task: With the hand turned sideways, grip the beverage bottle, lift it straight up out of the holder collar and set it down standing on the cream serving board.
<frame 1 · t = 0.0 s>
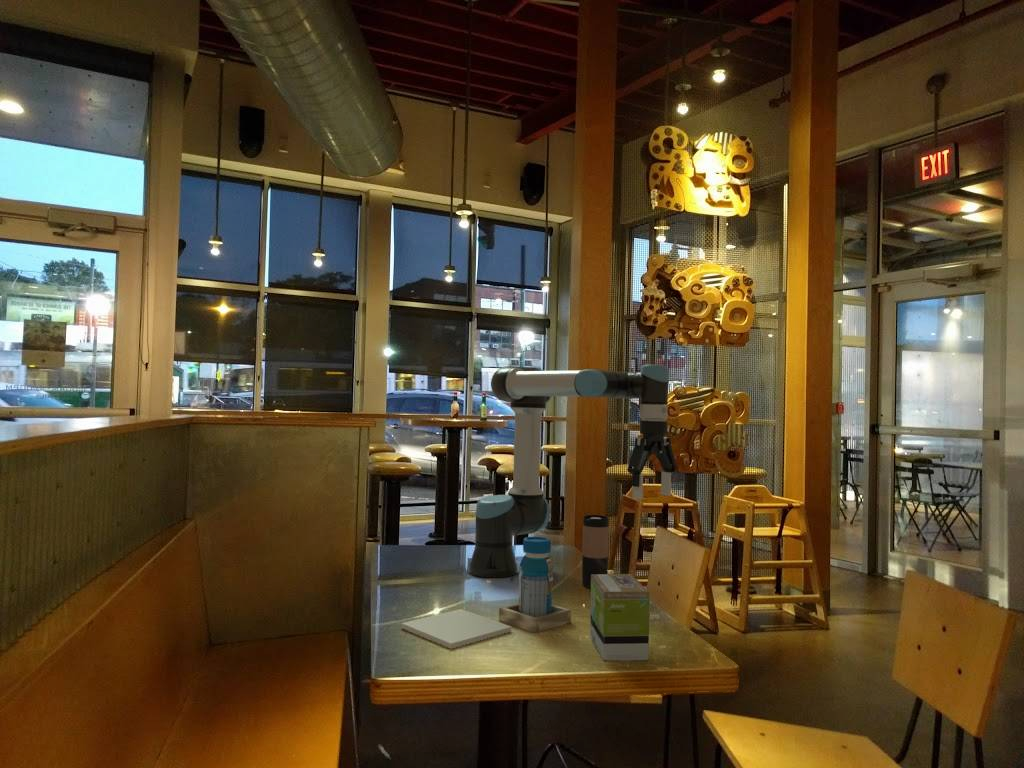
hand: (651, 497, 197), 28 cm above the table, tool pointing down, fingers open, 13 cm apart
tea box: (617, 650, 155), on the table
holder collar: (534, 621, 173), on the table
serving board: (456, 630, 164), on the table
travel mug: (594, 585, 209), on the table
beverage bottle: (534, 622, 173), resting in holder collar
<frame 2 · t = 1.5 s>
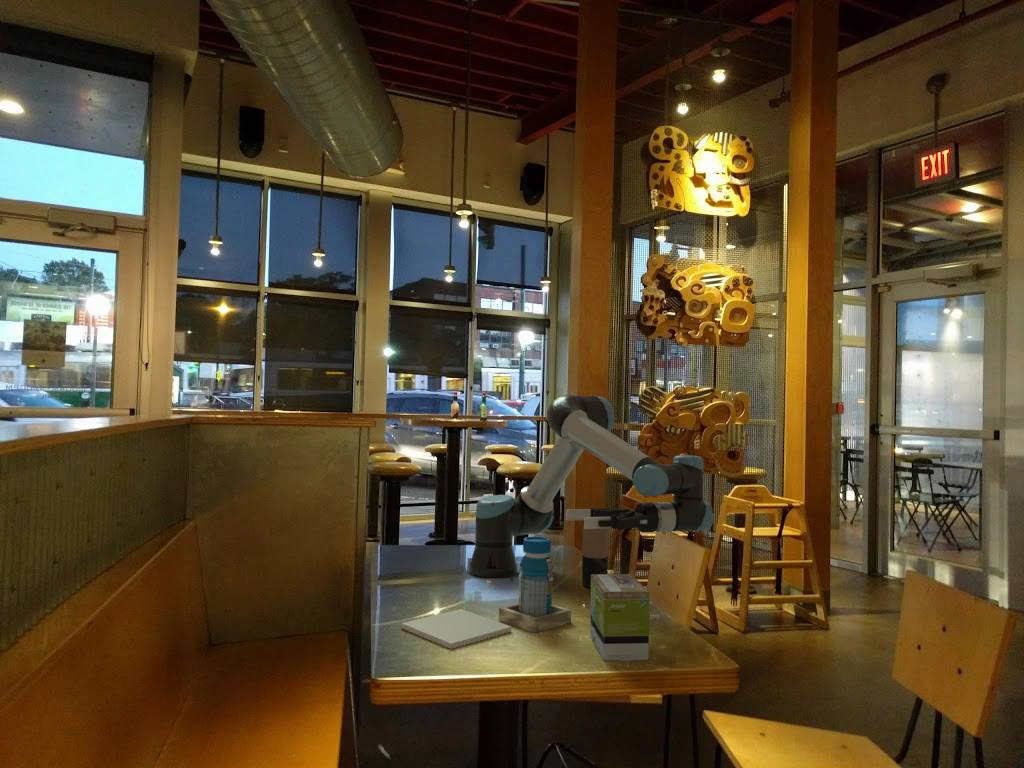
hand: (574, 518, 176), 25 cm above the table, tool horizontal, fingers open, 13 cm apart
nothing on the table moved.
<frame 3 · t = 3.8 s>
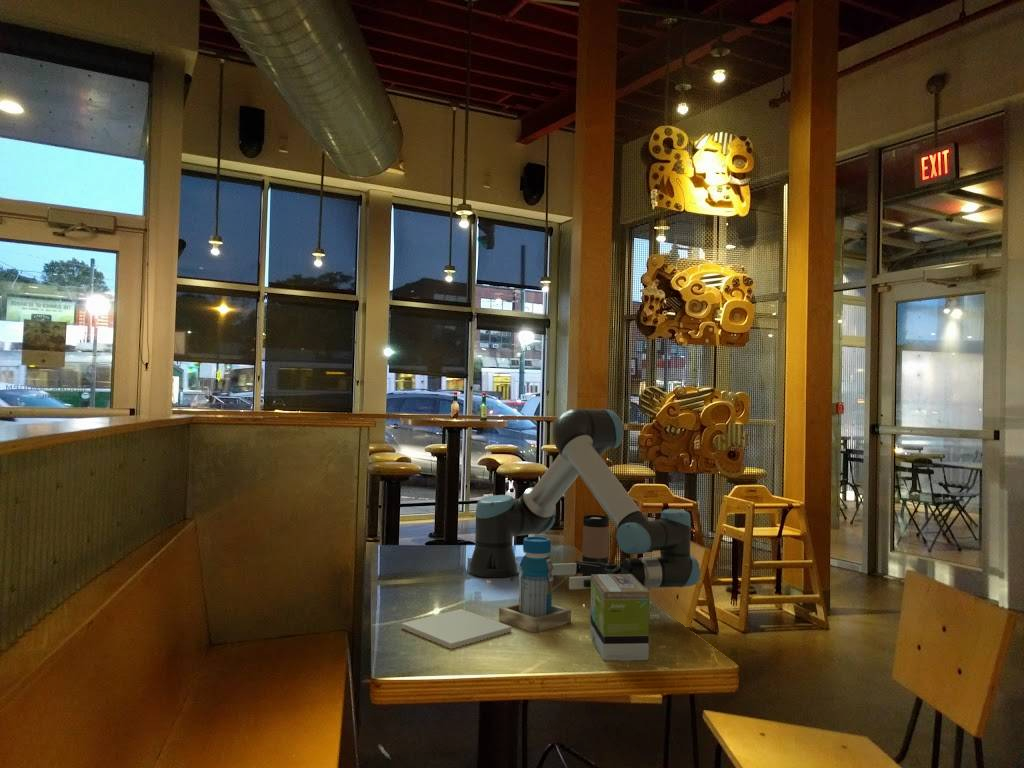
hand: (560, 576, 174), 11 cm above the table, tool horizontal, fingers open, 13 cm apart
nothing on the table moved.
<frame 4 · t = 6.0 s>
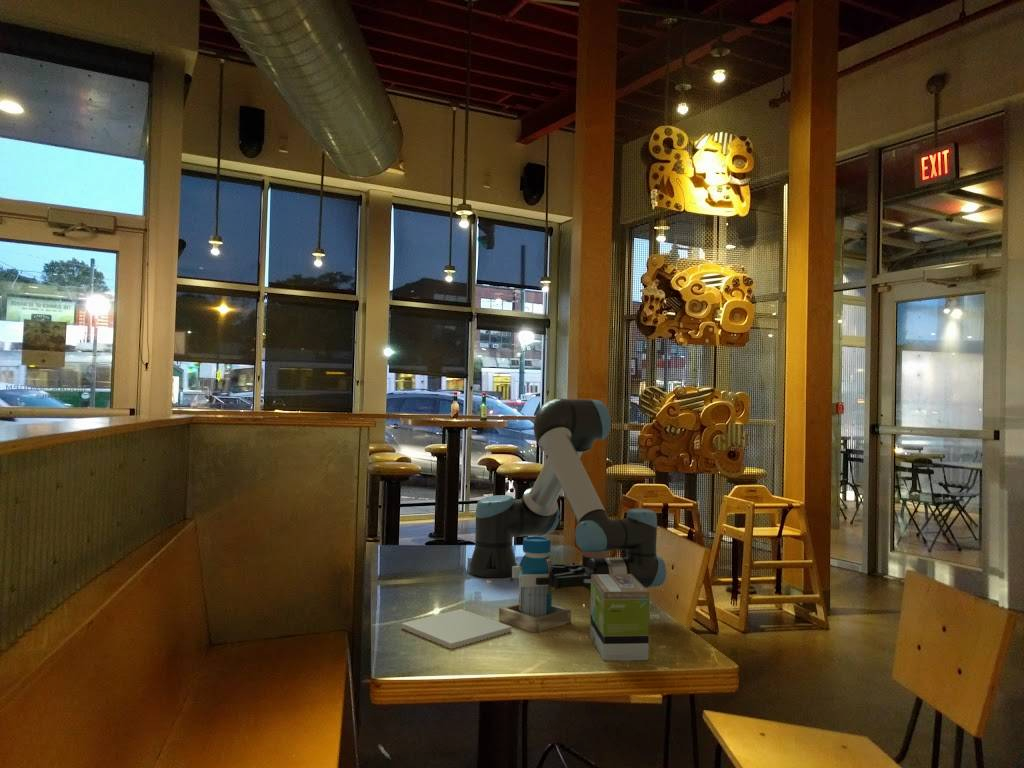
hand: (517, 576, 172), 11 cm above the table, tool horizontal, fingers closed on beverage bottle, 8 cm apart
beverage bottle: (534, 622, 173), resting in holder collar, touching gripper
everything else where it was.
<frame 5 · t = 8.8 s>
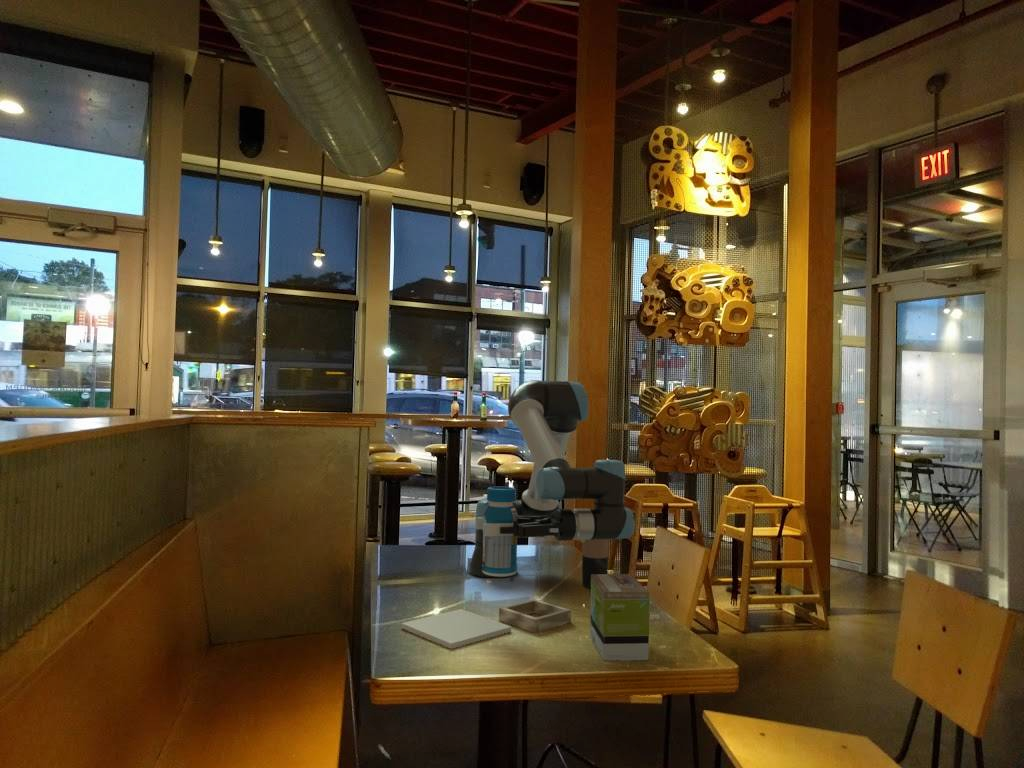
hand: (480, 526, 166), 24 cm above the table, tool horizontal, fingers closed on beverage bottle, 8 cm apart
beverage bottle: (499, 573, 167), point 13 cm above the table, touching gripper
everything else where it was.
when the fingers open (13 cm above the table, at t = 11.8 s): beverage bottle drops 1 cm, resting on serving board.
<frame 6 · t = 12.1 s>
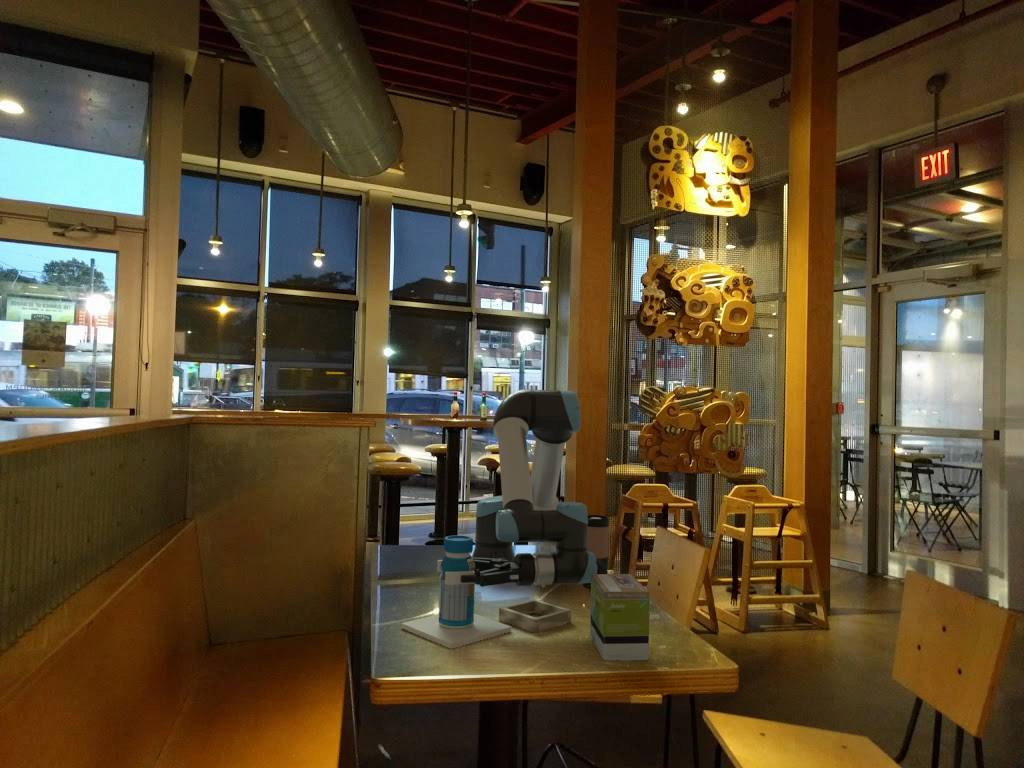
hand: (441, 572, 164), 13 cm above the table, tool horizontal, fingers open, 11 cm apart
beverage bottle: (456, 625, 165), point 1 cm above the table, touching serving board
everything else where it was.
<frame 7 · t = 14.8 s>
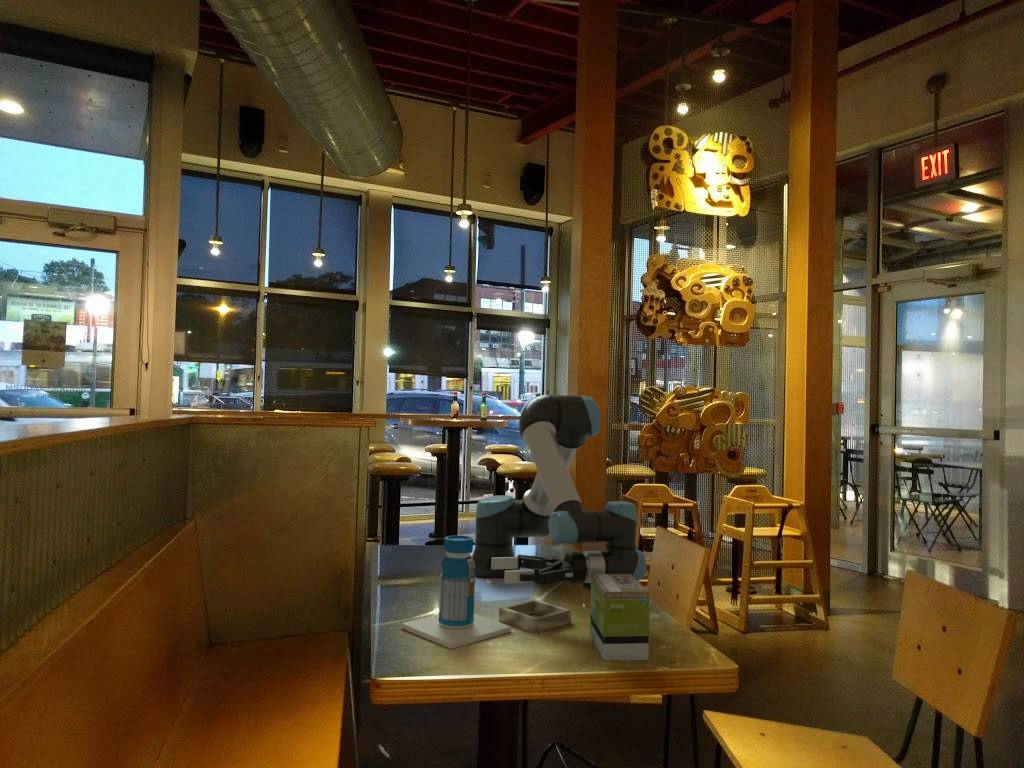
hand: (497, 570, 167), 14 cm above the table, tool horizontal, fingers open, 13 cm apart
nothing on the table moved.
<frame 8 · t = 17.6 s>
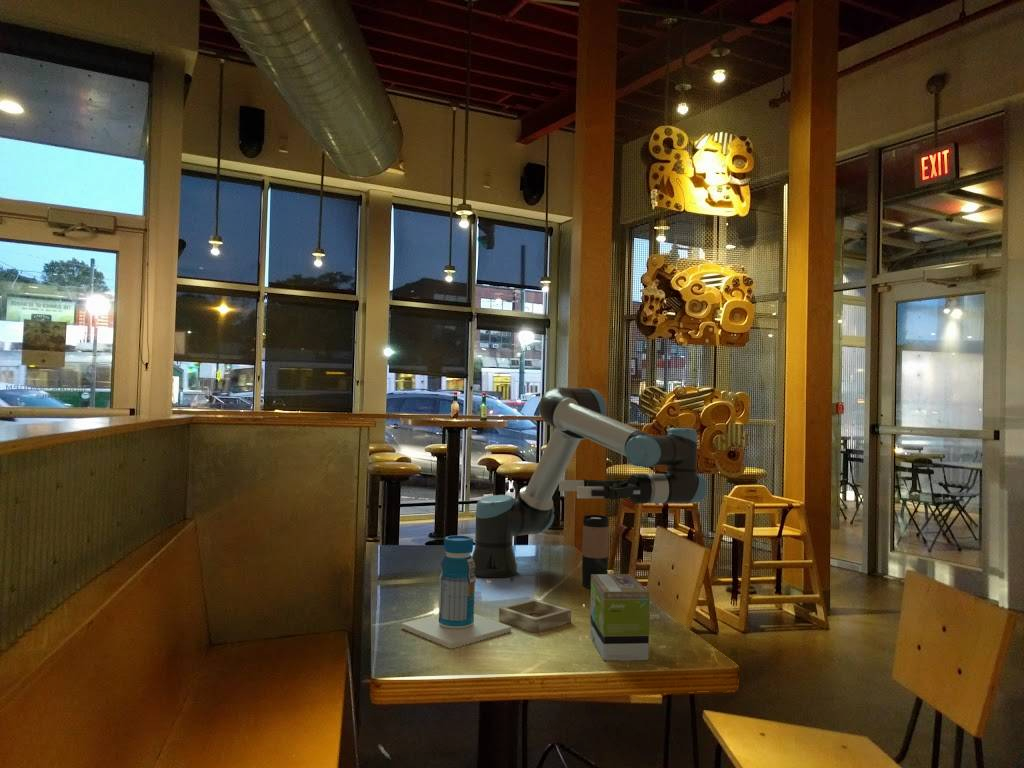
hand: (568, 488, 176), 32 cm above the table, tool horizontal, fingers open, 13 cm apart
nothing on the table moved.
at the end: beverage bottle inside the target area on the serving board (0.5 cm from its centre), point 1.0 cm above the serving board's base; beverage bottle tilted 0°; the gripper is holding nothing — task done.
